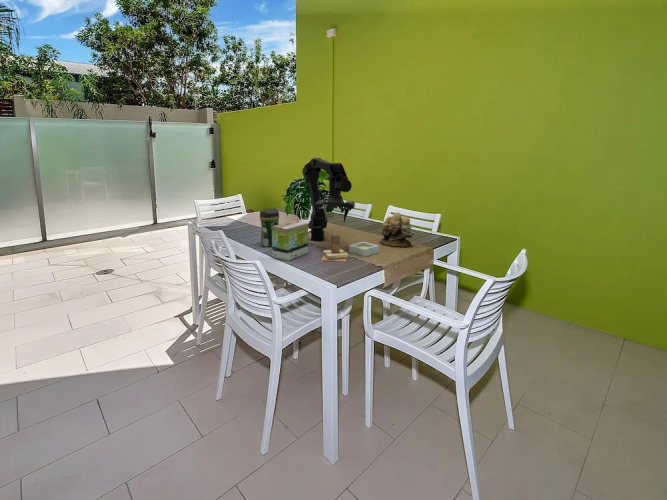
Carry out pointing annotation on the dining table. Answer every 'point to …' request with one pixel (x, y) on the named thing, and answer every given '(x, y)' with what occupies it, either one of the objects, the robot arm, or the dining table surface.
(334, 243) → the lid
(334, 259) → the tile
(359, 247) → the pale green square dish
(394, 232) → the brown lumpy sculpture
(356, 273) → the dining table surface
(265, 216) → the coffee jar
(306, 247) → the tea box
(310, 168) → the robot arm
